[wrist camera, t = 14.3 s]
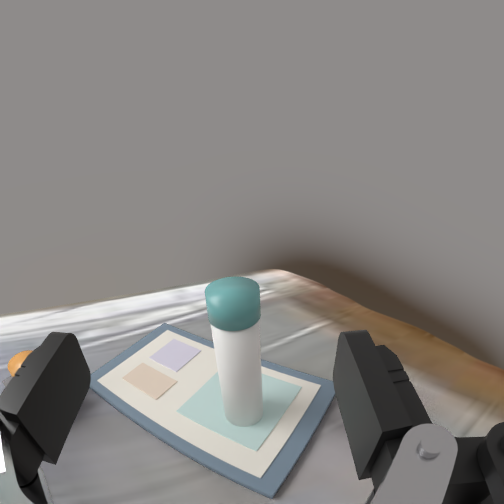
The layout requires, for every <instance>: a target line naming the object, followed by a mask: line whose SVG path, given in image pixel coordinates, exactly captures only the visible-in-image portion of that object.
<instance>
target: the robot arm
mask: <svg viewBox="0 0 504 504" xmlns="http://www.w3.org/2000/svg"><path fill="white" fill-rule="evenodd" d="M90 382H91V375H90V370H89V367H88V365H87V363H86V360H85V358H84V356H83V353H82V351H81V348H80V346H79V343H78V340H77V338H76V336H75V335H74V334H72V333H60V332H51V333H50V334H49V335H48V336H47V338H46V339H45V340H44V342H43V343H42V344H41V346H39V347H38V348H36V349H35V350H34V351H32V352H31V353H30V354H29V355H28V356H27V357H26V359H25V360H24V361H23V363H22V364H21V368H19V369H18V370H17V371H16V373H15V377H14V376H13V377H12V379H11V380H10V382H9V383H8V385H7V386H6V388H5V389H4V391H3V392H2V394H1V395H0V504H54V503H53V500H52V497H51V494H50V492H49V489H48V485H47V482H46V479H45V476H44V473H43V470H42V469H41V467H40V464H41V462H42V461H45V462H49V463H52V464H55V465H56V463H57V460H58V458H59V455H60V453H61V450H62V448H63V445H64V443H65V441H66V438H67V436H68V434H69V431H70V429H71V427H72V424H73V422H74V420H75V418H76V415H77V413H78V411H79V409H80V407H81V404H82V402H83V400H84V398H85V396H86V394H87V392H88V389H89V387H90ZM333 385H334V390H335V394H336V397H337V401H338V405H339V408H340V412H341V415H342V419H343V422H344V426H345V430H346V433H347V437H348V441H349V444H350V448H351V452H352V456H353V460H354V463H355V467H356V471H357V475H358V479H359V480H361V479H366V478H372V482H373V485H374V488H373V490H372V491H371V493H370V495H369V497H368V499H367V501H366V502H365V504H504V422H502V423H499V424H497V425H495V426H494V427H493V428H492V429H491V430H490V431H489V433H488V434H487V435H486V437H465V438H459V437H454V436H453V435H452V433H451V432H450V431H448V430H447V429H446V428H444V427H442V426H439V425H436V424H433V423H432V422H431V420H430V418H429V416H428V414H427V412H426V410H425V408H424V406H423V404H422V402H421V400H420V398H419V396H418V394H417V393H416V391H415V389H414V387H413V385H412V383H411V382H409V377H408V375H407V374H406V372H405V371H404V368H403V366H402V364H401V362H400V361H399V359H398V357H397V355H396V354H394V353H393V352H392V351H391V350H390V349H388V348H387V347H386V346H385V345H380V346H375V344H374V342H373V340H372V338H371V336H370V334H369V333H368V331H367V330H358V331H348V332H341V333H340V335H339V339H338V345H337V352H336V358H335V364H334V370H333Z"/></svg>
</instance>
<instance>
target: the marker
mask: <svg viewBox="0 0 504 504" xmlns="http://www.w3.org/2000/svg"><path fill="white" fill-rule="evenodd" d="M205 297H206V304H207V312H208V319H209V322H210V324H211V329H212V336H213V343H214V350H215V356H216V363H217V369H218V375H219V382H220V388H221V394H222V400H223V405H224V411H225V416H226V419H227V420H228V421H229V422H230V423H231V424H233V425H235V426H239V427H247V426H251V425H254V424H256V423H257V422H259V421H260V420H261V418H262V416H263V394H262V370H261V347H260V325H259V319H260V316H261V312H260V289H259V285H258V283H257V282H255V281H254V280H252V279H249V278H245V277H226V278H222V279H218V280H216V281H214V282H212V283H210V284H209V285H208V286H207V287H206V289H205Z"/></svg>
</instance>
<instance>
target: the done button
mask: <svg viewBox="0 0 504 504" xmlns="http://www.w3.org/2000/svg"><path fill="white" fill-rule="evenodd" d="M31 352H32V351H30V350H29V351H23V352H20V353H18V354H16V355H15V356H14V357H12V358H11V360H10V361H9V363H8V370H9V372H10V374H11V375H12V377H13V376H14V377H15V373H16V371H17V370H18V369H19V368H21V364H22V363H23V361H24V360H25V359H26V357H27V356H28V355H29V354H30V353H31Z"/></svg>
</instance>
